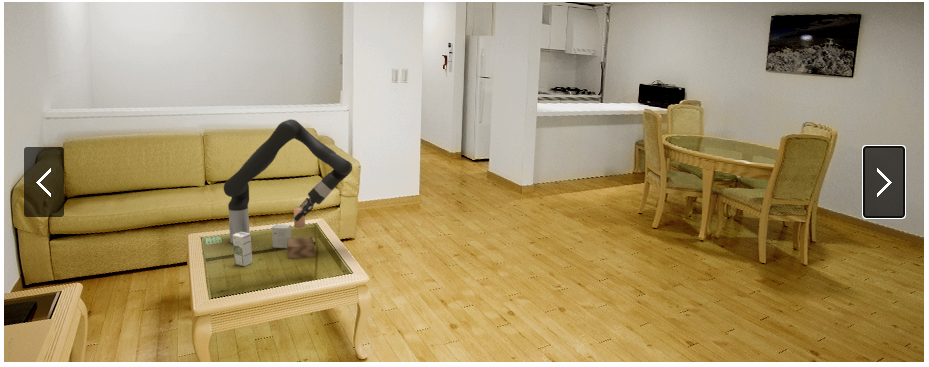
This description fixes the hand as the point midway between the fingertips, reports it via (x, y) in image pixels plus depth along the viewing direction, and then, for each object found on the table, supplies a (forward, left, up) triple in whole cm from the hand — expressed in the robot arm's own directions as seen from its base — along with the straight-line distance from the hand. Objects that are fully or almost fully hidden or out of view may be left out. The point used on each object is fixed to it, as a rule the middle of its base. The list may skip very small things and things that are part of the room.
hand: (295, 218), depth 291 cm
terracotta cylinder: (+2, 0, -4) cm, 5 cm away
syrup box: (-24, -7, -18) cm, 31 cm away
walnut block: (+2, 0, -18) cm, 18 cm away
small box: (-6, +13, -18) cm, 23 cm away
